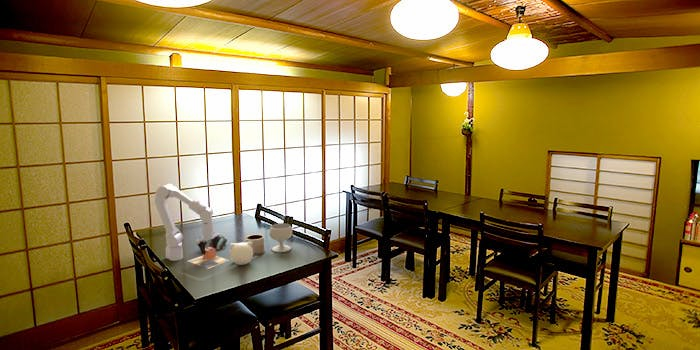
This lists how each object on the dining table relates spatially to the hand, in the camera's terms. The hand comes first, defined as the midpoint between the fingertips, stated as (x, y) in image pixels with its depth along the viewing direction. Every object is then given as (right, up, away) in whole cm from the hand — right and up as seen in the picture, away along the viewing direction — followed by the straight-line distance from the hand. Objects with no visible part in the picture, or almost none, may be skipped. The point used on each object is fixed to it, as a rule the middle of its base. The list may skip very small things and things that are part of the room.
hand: (209, 251), depth 219 cm
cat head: (+21, -6, -7) cm, 23 cm away
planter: (+24, -3, +12) cm, 27 cm away
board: (+1, -5, -4) cm, 7 cm away
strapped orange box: (0, -3, +1) cm, 3 cm away
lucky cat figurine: (-3, -2, +16) cm, 16 cm away
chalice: (+39, -2, +16) cm, 42 cm away
